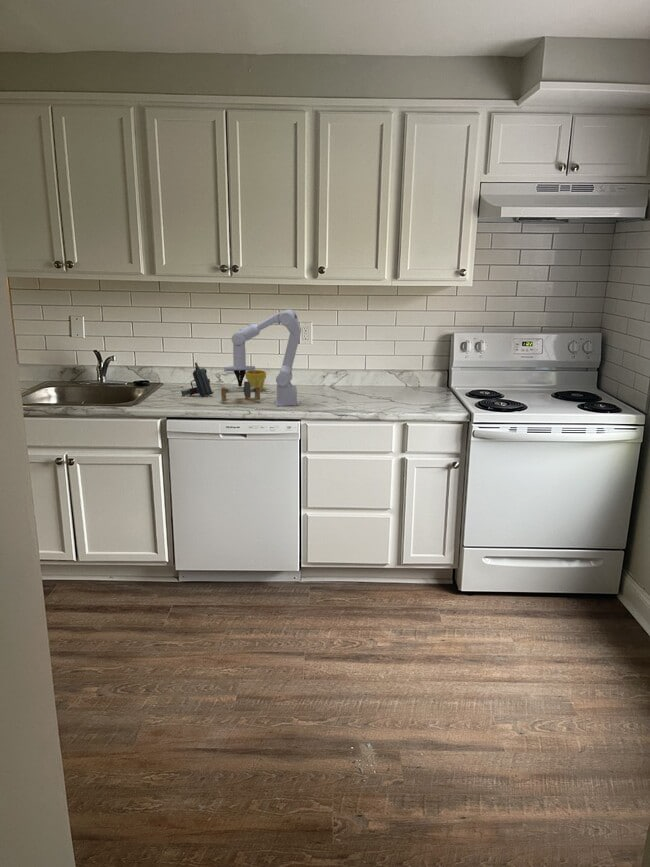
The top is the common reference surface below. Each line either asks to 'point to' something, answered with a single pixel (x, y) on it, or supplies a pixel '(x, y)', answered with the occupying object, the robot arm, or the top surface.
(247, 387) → the collar
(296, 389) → the robot arm
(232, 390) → the pipe stand
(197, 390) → the gun
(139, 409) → the top surface
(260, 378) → the plant pot
